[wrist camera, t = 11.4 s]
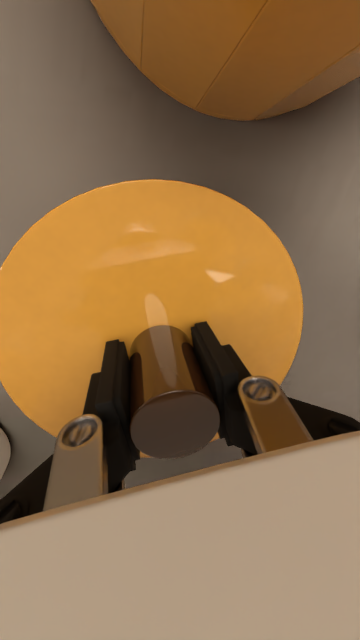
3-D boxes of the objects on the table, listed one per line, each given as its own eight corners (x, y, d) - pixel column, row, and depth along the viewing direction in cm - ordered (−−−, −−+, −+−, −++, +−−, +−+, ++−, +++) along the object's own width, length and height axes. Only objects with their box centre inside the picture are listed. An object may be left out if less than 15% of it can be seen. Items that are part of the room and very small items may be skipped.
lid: (250, 114, 10) (379, 24, 5) (309, 379, 16) (389, 461, 11) (-85, 276, 10) (-301, 353, 5) (105, 472, 17) (94, 590, 12)
